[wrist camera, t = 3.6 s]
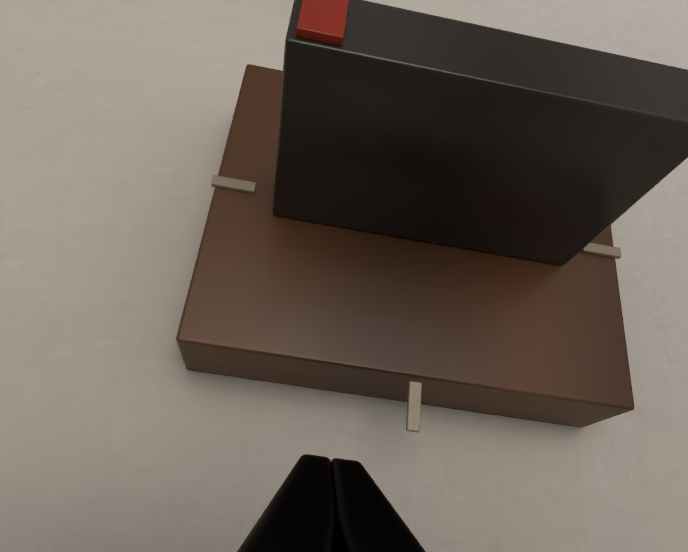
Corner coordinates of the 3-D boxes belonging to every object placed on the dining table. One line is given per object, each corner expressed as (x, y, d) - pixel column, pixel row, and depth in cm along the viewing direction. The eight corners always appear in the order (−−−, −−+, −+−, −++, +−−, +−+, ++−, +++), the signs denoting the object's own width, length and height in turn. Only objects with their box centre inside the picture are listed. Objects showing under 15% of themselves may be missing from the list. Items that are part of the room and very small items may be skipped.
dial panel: (560, 149, 25) (600, 100, 22) (589, 475, 19) (649, 463, 16) (251, 89, 24) (251, 29, 21) (170, 417, 18) (155, 394, 15)
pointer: (560, 221, 20) (714, 64, 13) (564, 266, 19) (730, 122, 12) (280, 170, 19) (298, -26, 12) (271, 215, 18) (285, 30, 11)
